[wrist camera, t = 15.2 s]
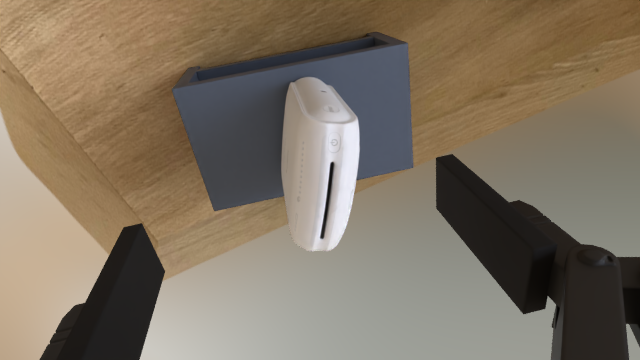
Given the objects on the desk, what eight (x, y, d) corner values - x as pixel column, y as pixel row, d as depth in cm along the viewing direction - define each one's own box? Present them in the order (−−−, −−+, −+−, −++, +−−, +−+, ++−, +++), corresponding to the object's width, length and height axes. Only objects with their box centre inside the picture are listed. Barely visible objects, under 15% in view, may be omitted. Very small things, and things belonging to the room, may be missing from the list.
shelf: (221, 171, 44) (214, 211, 36) (188, 68, 38) (171, 89, 30) (385, 136, 45) (413, 167, 37) (377, 31, 40) (408, 42, 32)
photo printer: (284, 72, 31) (301, 119, 20) (335, 76, 32) (377, 123, 21) (277, 182, 36) (287, 268, 25) (321, 183, 37) (350, 267, 26)
